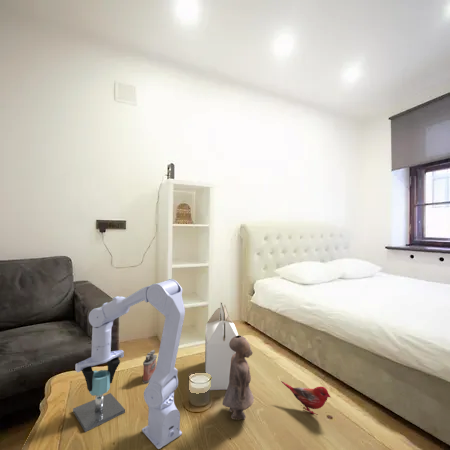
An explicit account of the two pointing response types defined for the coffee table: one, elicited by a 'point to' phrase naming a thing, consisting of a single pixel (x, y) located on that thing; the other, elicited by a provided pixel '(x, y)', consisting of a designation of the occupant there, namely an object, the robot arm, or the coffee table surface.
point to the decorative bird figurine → (310, 396)
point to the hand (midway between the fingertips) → (99, 385)
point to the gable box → (219, 348)
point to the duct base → (98, 411)
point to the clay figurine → (239, 379)
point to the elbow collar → (100, 382)
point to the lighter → (149, 366)
